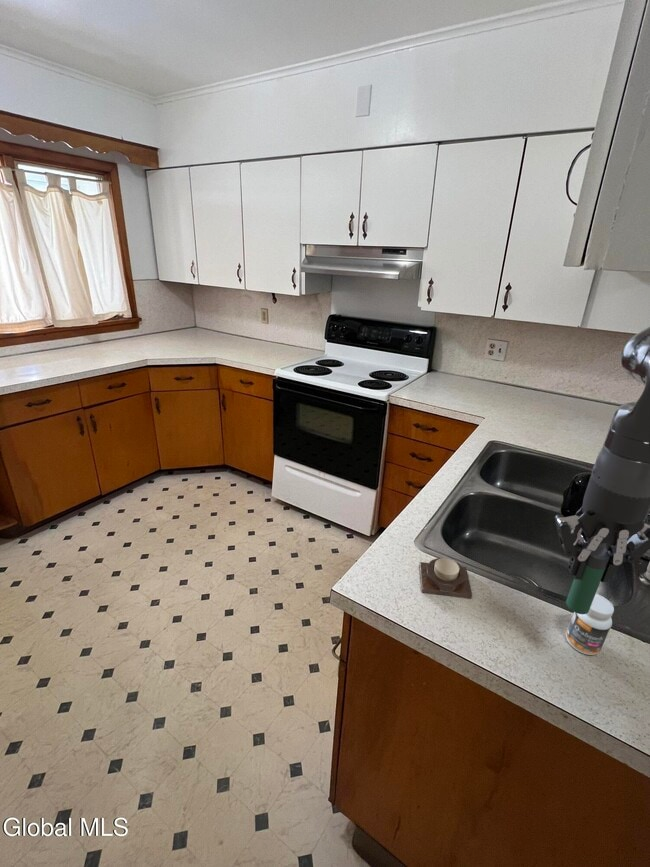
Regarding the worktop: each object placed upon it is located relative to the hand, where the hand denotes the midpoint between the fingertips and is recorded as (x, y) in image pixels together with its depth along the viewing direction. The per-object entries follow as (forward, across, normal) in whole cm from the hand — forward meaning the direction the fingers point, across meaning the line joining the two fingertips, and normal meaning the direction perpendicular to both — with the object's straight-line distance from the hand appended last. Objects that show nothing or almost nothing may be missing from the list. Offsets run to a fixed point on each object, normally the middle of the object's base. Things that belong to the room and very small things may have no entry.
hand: (588, 576), depth 64 cm
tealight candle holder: (+21, -17, +17) cm, 32 cm away
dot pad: (+18, -17, +17) cm, 30 cm away
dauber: (+6, 0, 0) cm, 6 cm away
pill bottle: (+21, +7, +6) cm, 23 cm away
